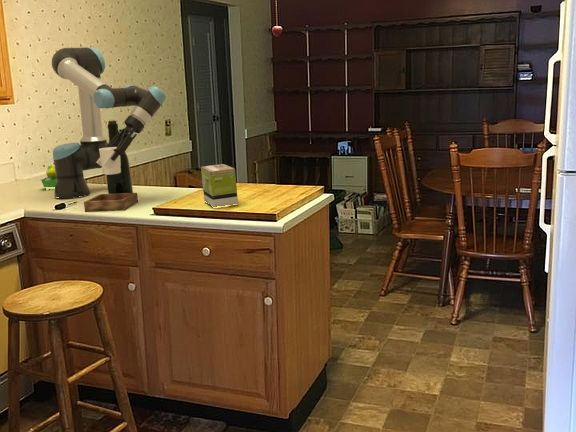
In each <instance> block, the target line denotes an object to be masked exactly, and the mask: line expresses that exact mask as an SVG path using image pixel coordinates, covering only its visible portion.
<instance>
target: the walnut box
mask: <svg viewBox="0 0 576 432" xmlns="http://www.w3.org/2000/svg"><path fill="white" fill-rule="evenodd" d="M138 203H139V195H138V192H133V193H118V194H108V193H101V194H100V193H99V194H97V195H96V196H93V197H91V198H89V199H88V200H85V201H84V202H83V204H84V205H83V206H84V212H85V213H92V212H93V213H96V212H119V211H120V212H121V211H126V210H128V209H130V208H132V207H133V206H134V205H136V204H138Z"/></svg>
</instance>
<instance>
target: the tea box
mask: <svg viewBox="0 0 576 432" xmlns="http://www.w3.org/2000/svg"><path fill="white" fill-rule="evenodd" d="M200 171H201V181H202V190H203V201H206V202H207V203H209V204H210V205H212V206H213V207H217V206H225V205H233V204H238V205H239V200H238V199H239V197H238V189H237V187H238V186H237V179H236V177H237V176H236V175H237V174H236V169H235V168H234V167H232V166H229V165H227V164H224V163H221V164H212V165H206V166H200ZM207 203H206V204H207Z"/></svg>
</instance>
